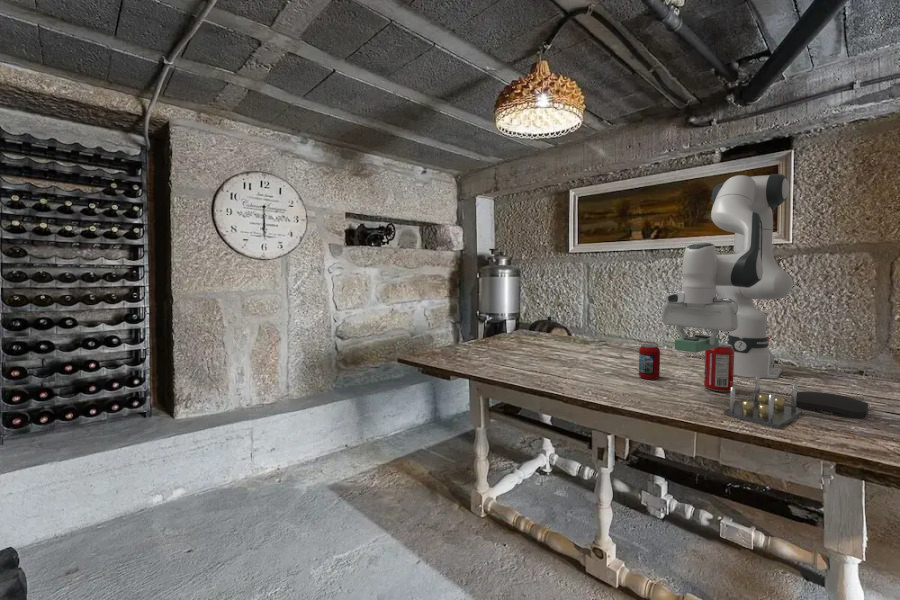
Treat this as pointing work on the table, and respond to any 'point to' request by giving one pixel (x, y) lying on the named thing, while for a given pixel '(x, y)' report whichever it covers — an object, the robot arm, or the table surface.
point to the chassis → (764, 408)
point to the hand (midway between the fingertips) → (697, 342)
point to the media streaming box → (832, 404)
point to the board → (695, 343)
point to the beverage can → (649, 361)
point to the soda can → (719, 368)
